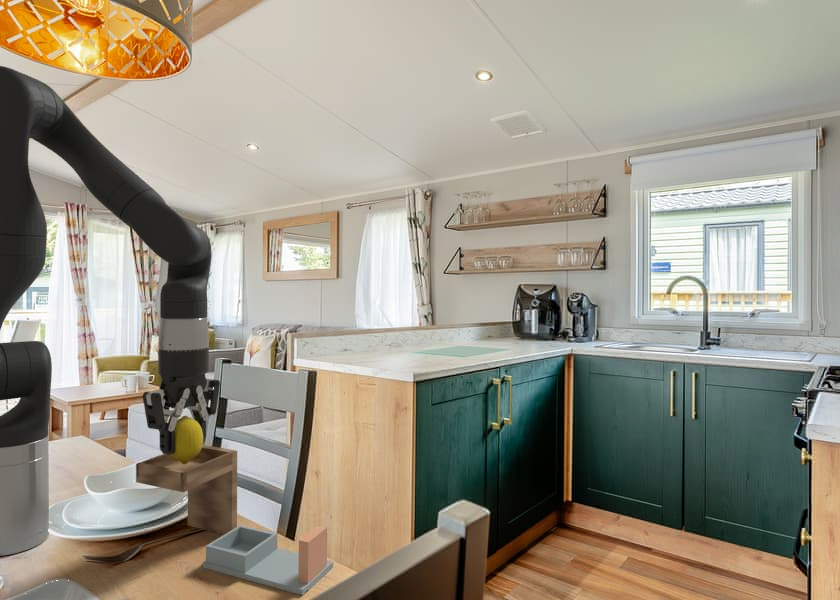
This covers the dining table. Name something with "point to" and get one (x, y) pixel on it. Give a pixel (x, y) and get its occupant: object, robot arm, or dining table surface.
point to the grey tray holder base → (270, 558)
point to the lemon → (187, 439)
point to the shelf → (199, 485)
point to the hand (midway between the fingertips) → (183, 447)
